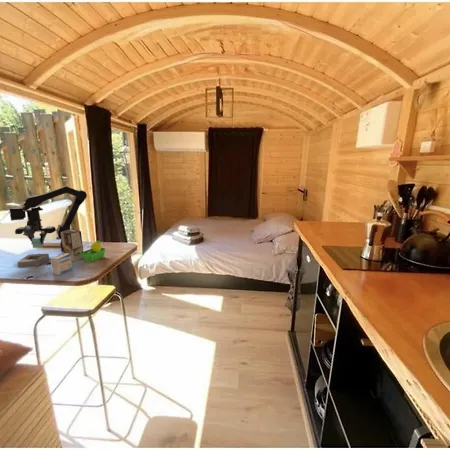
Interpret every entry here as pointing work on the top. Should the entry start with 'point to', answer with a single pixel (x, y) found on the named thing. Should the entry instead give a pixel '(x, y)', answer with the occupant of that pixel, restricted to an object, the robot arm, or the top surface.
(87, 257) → the fruit basket
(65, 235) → the coffee box
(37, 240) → the block
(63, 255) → the medicine box
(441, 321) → the top surface
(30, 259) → the pocket plate
